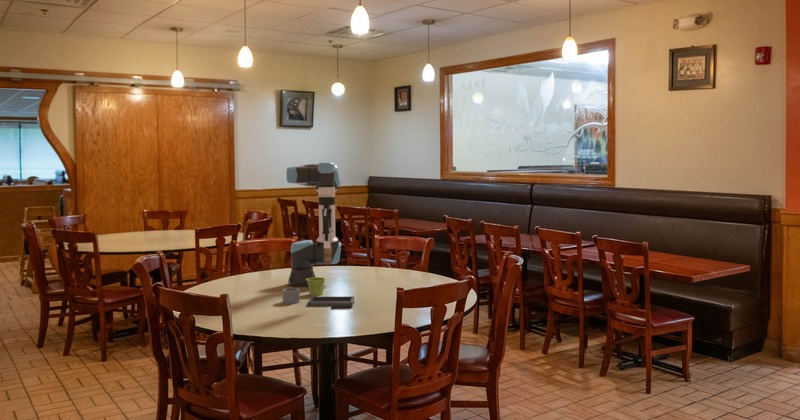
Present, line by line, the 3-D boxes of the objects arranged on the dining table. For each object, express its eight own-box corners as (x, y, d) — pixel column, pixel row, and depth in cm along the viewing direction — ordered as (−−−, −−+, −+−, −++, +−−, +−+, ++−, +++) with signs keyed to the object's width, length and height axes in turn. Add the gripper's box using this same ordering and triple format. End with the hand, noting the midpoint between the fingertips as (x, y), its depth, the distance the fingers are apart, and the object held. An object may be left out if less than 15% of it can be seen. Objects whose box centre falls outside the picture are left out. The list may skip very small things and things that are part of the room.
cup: (284, 302, 318) (284, 287, 318) (300, 302, 318) (300, 287, 318) (281, 306, 311) (281, 291, 310) (298, 306, 311) (297, 291, 310)
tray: (312, 301, 319) (312, 296, 319) (354, 301, 319) (354, 296, 319) (307, 308, 305) (307, 303, 305) (351, 308, 305) (351, 302, 305)
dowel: (324, 262, 312) (323, 227, 311) (332, 262, 312) (331, 227, 311) (323, 263, 309) (322, 228, 308) (331, 263, 309) (330, 228, 307)
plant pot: (307, 298, 327) (307, 281, 326) (305, 295, 336) (304, 277, 335) (327, 297, 329) (326, 280, 328) (324, 293, 338) (323, 276, 337)
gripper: (321, 195, 317) (322, 245, 318) (315, 197, 300) (316, 249, 302) (337, 195, 316) (338, 245, 318) (332, 197, 300) (333, 249, 302)
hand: (327, 247), depth 310 cm, fingers closed on dowel, 3 cm apart
